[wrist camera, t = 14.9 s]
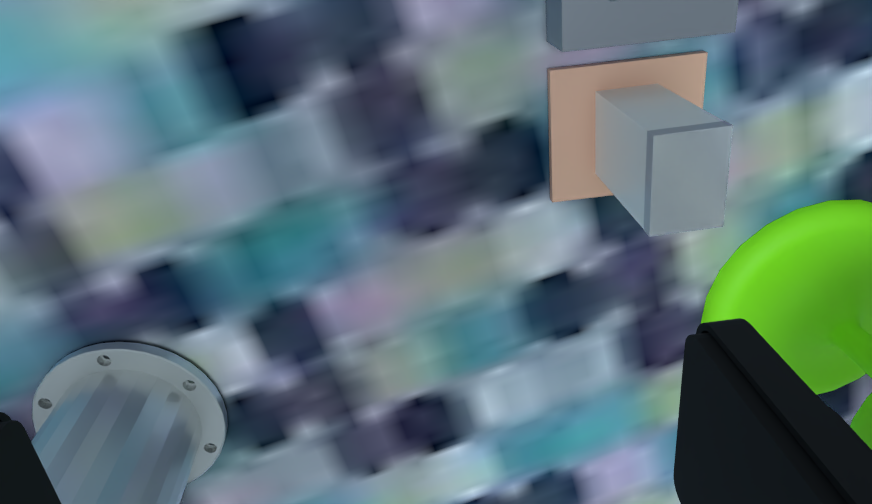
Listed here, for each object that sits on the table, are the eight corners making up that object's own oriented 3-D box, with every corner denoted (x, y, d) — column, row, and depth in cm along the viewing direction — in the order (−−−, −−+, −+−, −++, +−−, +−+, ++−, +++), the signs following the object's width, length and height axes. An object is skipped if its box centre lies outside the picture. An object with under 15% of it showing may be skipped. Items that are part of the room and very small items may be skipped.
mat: (691, 181, 41) (696, 184, 41) (550, 198, 41) (552, 202, 40) (702, 50, 38) (707, 52, 37) (547, 68, 37) (549, 70, 37)
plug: (654, 166, 40) (723, 226, 32) (595, 173, 40) (649, 236, 32) (657, 82, 38) (733, 125, 30) (595, 91, 38) (653, 135, 30)
